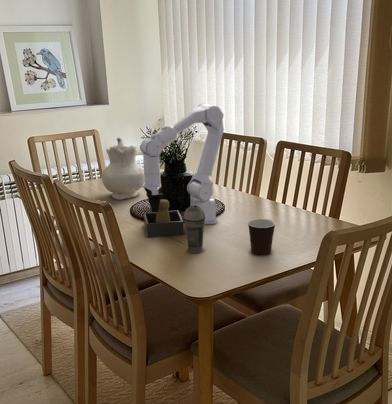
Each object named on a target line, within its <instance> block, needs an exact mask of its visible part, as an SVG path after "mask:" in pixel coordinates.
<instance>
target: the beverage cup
mask: <svg viewBox="0 0 392 404" xmlns="http://www.w3.org/2000/svg"><path fill="white" fill-rule="evenodd" d="M191 195H192V206H191V205H190V206H188V207H187V208H186V209H185V211H184V213H183V217H182V220H183V224H184V226H185V234H186V235H185V236H186V242H187V248H188V252H189V253H190V254H200V253H202V252H203V247H204V246H203V245H204V229H205V224H204V223H205V214H204V211H203V210H202V209H201V208H200V207H198V206H194V201H193V192H191Z"/></svg>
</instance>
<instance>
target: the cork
mask: <svg viewBox="0 0 392 404" xmlns="http://www.w3.org/2000/svg"><path fill="white" fill-rule="evenodd" d="M169 208H170V202H169V200H168V199H163V198H161V200H160V203H159V210H158V212H157V215H156V223H163V222H170V217H169V211H170V210H169Z"/></svg>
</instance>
